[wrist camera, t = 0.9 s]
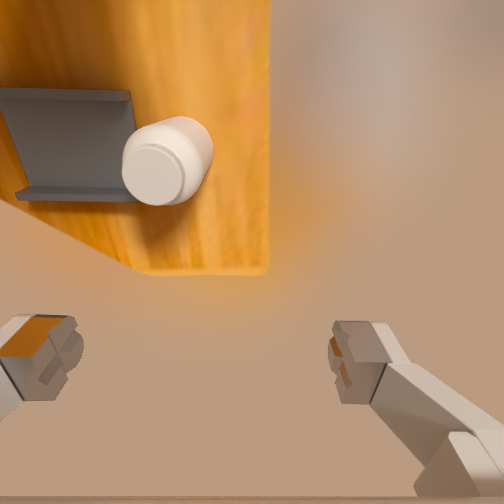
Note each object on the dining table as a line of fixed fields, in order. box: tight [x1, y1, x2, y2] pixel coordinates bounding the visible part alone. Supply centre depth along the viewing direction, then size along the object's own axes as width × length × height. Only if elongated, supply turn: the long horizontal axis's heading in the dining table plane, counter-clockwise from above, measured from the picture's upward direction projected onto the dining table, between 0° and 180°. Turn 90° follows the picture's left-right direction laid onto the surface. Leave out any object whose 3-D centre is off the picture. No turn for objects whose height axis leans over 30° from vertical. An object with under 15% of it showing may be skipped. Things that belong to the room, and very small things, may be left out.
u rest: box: [0, 87, 140, 203], centre depth 35 cm, size 13×16×4 cm
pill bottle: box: [122, 116, 214, 206], centre depth 31 cm, size 8×8×15 cm
